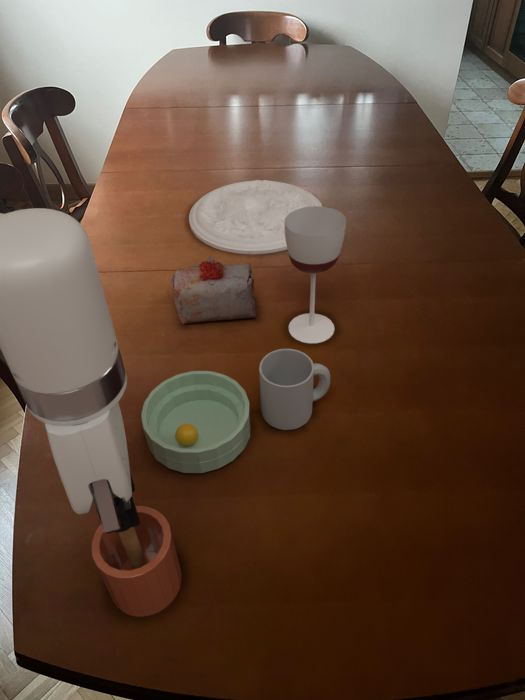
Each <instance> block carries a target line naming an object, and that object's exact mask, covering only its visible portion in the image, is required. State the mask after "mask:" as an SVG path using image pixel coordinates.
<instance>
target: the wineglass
mask: <svg viewBox="0 0 525 700" xmlns="http://www.w3.org/2000/svg"><path fill="white" fill-rule="evenodd" d="M346 227H347V218H346V216H345V215H344V214H343V212H341V211H340V210H337V209H336V208H333V207H329V206H328V207H327V206H323V207H320V206H312V207H304V208H300V209H297V210H295V211H293V212H291V213H289V214H288V215H287V216H286V218H285V238H286V244H287V253H288V257H289V260H290V263H291V265H293V266H294V268H295V269H297V270H298V271H301V272H303V273H307V274H310V287H309V288H310V290H309V291H310V292H309V312H308V313H302V314H299V315H297V316H295V317H293V318H292V320H291V321H290V322H289V324H288V332H289V335H290V336H291V337H292V338H294V340H296V341H299V342H301V343H304V344H319V343H323V342H325V341H328V340H329V339H330V338H332V336H333V335H334V333H335V324H334V323H333V322H332V320H331V319H330V318H329V317H327V316H326V315H322V314H319V313H315V309H316V307H315V305H316V278H317V274H320V273H323V272H326V271H328V270H330V269H331V268H333V267H334V265H335V264H336V263H337V262H338V260H339V258H340V254H341V251H342V249H343V244H344V240H345V235H346Z"/></svg>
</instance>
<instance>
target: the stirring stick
mask: <svg viewBox="0 0 525 700" xmlns="http://www.w3.org/2000/svg"><path fill="white" fill-rule="evenodd" d="M113 497H117V495H113ZM118 534H119V536H120V539H121V541H122V544H123V546H124V549H125V551H126V554H127V556H128V559H129V561H130V564H131V566H132V569H133V570H134V569H137V568H141V567H142V566H144V565H146V564H147V561H146V559H145V556H144V553H143V550H142V548H141V545H140V542H139V539H138V537H137V534H136V531H135V528H134V527H131V528H129V529H128V530H126V531H123V532H119V533H118Z"/></svg>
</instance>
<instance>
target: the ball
mask: <svg viewBox="0 0 525 700" xmlns="http://www.w3.org/2000/svg"><path fill="white" fill-rule="evenodd" d="M175 437H176V440H177V442H178V443H179V444H180V445H182V446H191V445H193V444H194V443H195V442H196V441H197V438H198V431H197V429H196V428H195V427H194V426H193V425H191V424H182V425H181V426H179V427H178V428H177V430H176V433H175Z"/></svg>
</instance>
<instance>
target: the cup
mask: <svg viewBox="0 0 525 700" xmlns="http://www.w3.org/2000/svg"><path fill="white" fill-rule="evenodd" d="M258 371H259V373H258V375H259V393H260V395H259V396H260V411H261V415H262V418H263V420H264V421H265V422H266V423H267V424H268V425H269V426H271V427H273V428H274V429H276V430H277V429H278V430H281V431H292V430H297V429H299V428H301V427H303V426H304V425H305V424H307V423H308V422H309V420H310V419H311V417H312V415H313V402H317V401H318V400H320V399H322V398H323V397H324V396H325V395H326V394H327V393H328V391H329V389H330V386H331V373H330V370H329V368H328V366H325V365H324V364H321V363H314V362H313V360H312V358H311V357H310V356H309V355H307V354H306V353H305V352H303V351H301V350H299V349H293V348H280V349H279V348H278V349H276V350H273V351H271V352H269V353H267V354H265V356H263V358H262V359H261V361H260V363H259V368H258ZM314 376H315V377H316V376H317V377H318V383H317V385H316V386H315V388H314V379H315V377H314Z"/></svg>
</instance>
